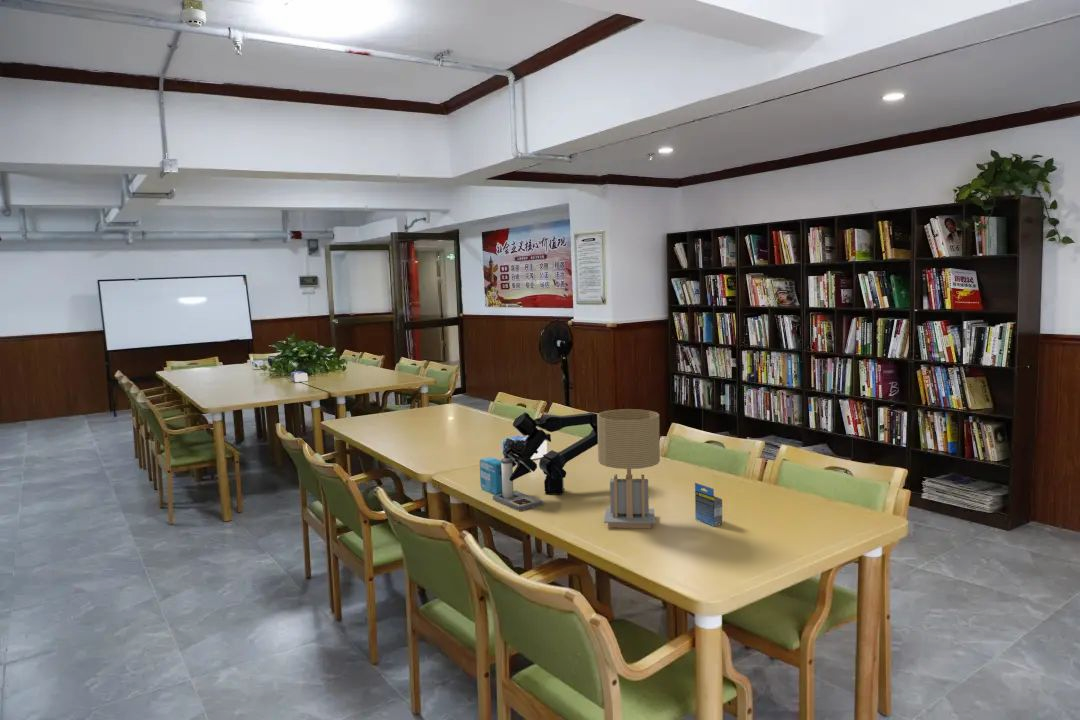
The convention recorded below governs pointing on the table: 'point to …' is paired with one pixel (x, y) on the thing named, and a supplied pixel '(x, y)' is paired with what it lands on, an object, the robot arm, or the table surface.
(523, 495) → the jack panel
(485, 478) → the blue box
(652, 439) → the desk lamp
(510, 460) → the white cylinder with cap
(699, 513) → the label tape cartridge
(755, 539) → the table surface
